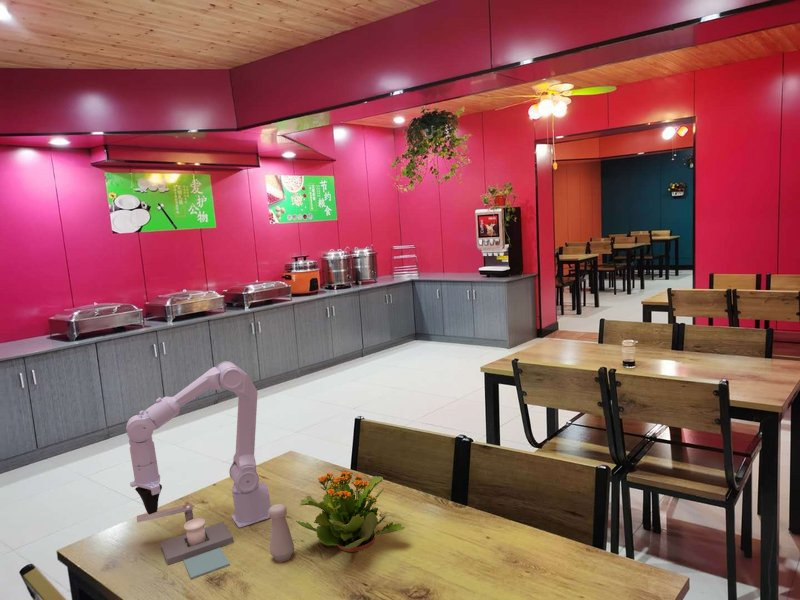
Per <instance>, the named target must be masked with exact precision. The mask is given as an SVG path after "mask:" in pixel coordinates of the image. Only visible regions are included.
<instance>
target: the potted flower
mask: <svg viewBox="0 0 800 600" xmlns="http://www.w3.org/2000/svg"><path fill="white" fill-rule="evenodd" d="M352 475H353V472H352V471H341V472H340V476H337V475H336V476H335V477H334V474H332V473H330V472H326V475H322V476H321V477H320V476H319V477H317V480H318V482H319V484H320V485H322V486H320V488H321V489H322V490H323V491H325V494H324V495H323V497H322V501H319V502H318V501H316V500H315V499H314V498H313V497H312V496H311V495H307V496H306V497H305V498H304V499H301V500H300V503H299V506H312V507H315V508H319V509H320V510H321V512H320V513H319V514H318V515H317V516H315V519H314V521H313V523H314V524H317V527H316V528H315V527H313V525H312V524H310V523H309V522H307V521H306V522H304V521H302V522H301V521H300V520H296V521H295V522H296V523H297V524H298V525H300V526H301V527H303V528H305V529H307V530H309V531H310V530H311V531H313V532H315V533H316V536H317V538H318V541H320V543H322V544H323V545H326V546H337V548H338V549H340V550H342V551H343V552H349V553H355V552H356V553H357V552H359V551H360V552H361V551H364V550H365V549H368V548H369V547H371V546H373V544H374V542H375V538H376V536H381V535H386V534H390V533H394V532H398V531H403V530H404V529H405V528H406V527H405V526H402V524H401V523H394V522H390V523H388V524H386V525H385V526H383V528H382V529H377V530H376V531H375V529H376V528H377V526H378V525H379V524H381V523H382V522H383V521H384V520H385V518H386V515H383V516H382V517H381V518H378V517H377V516H378V514H379V513H378V510H379V508H378V507H372V506H373V504H374V505H377V502H378V500H377V499H378V497H379V496H380V495H381V494H382V492H383V491H384V489H385V487H383V488H382V489H381V490H379V491H378V493H377V494H376V495H375V496H374V495H372V494H371V493H372V491H373V489H374V488H375V487H377V485H378V484H381V482H383V481H384V478H383V476H378V475H375V476H374V477H373V478H370V480H369V482H368V480H363V477H362V476H361V474H356V475H355V477H354V480H353V476H352ZM328 483H329V484H328ZM349 484H351V485H352V484H353V486H354V488H355V490H354V489H353V488H351V487H350V485H349ZM354 492H355V493H354Z"/></svg>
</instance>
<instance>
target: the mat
mask: <svg viewBox="0 0 800 600" xmlns="http://www.w3.org/2000/svg"><path fill="white" fill-rule="evenodd" d="M183 563H184V565H185V568H186V571H187V573H188V575H189V578H190V580H193V579H196V578H199V577H201V576H204V575H208V574H210V573H212V572H214V571H218V570H221V569H224V568H226V567H228V566H231V563H230V562H229V560H228V558H227V556H226V554H225V553H224V551H223V549H222V547H219V548H216V549H213V550H210V551H207V552H204V553H202V554H199V555H196V556H193V557H190V558H187V559H184V560H183Z"/></svg>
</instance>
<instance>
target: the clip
mask: <svg viewBox="0 0 800 600" xmlns="http://www.w3.org/2000/svg"><path fill="white" fill-rule="evenodd" d="M191 510H192V511H193V510H194V506H193V503H185V504H184V505H179V506H175V507H170V508H166V509H161V510H157V512H155V513H152V514H150V515H149V514H148V513H147V512H146V513H144V514H139V515H136V522H137V523H142V522H146V521H151V520H155V519H159V518H164V517H168V516H172V515H173V516H174V515H176V514H181V513H184V512H189V511H191Z"/></svg>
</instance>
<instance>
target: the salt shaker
mask: <svg viewBox="0 0 800 600" xmlns="http://www.w3.org/2000/svg"><path fill="white" fill-rule="evenodd" d="M287 511H288V509H287V506H286V505H285V504H284V503H274V504H273V505H271V507H270V508H269V517H270V518H269V519H270V521H271V522H270V523H271V524H270V539H269V553H270V555H271V556H272V558H274V560H275V562H276V561H277V563H279V562H281V563H283V562H285V561H286V562H287V561H289V560H291V557H292V554H293V552H294V548H295V545H294V544H295V543H294V541H293V537H292V534H291V531H290V528H289V524H288V521H287V518H286V515H287V514H288V513H287Z"/></svg>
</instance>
